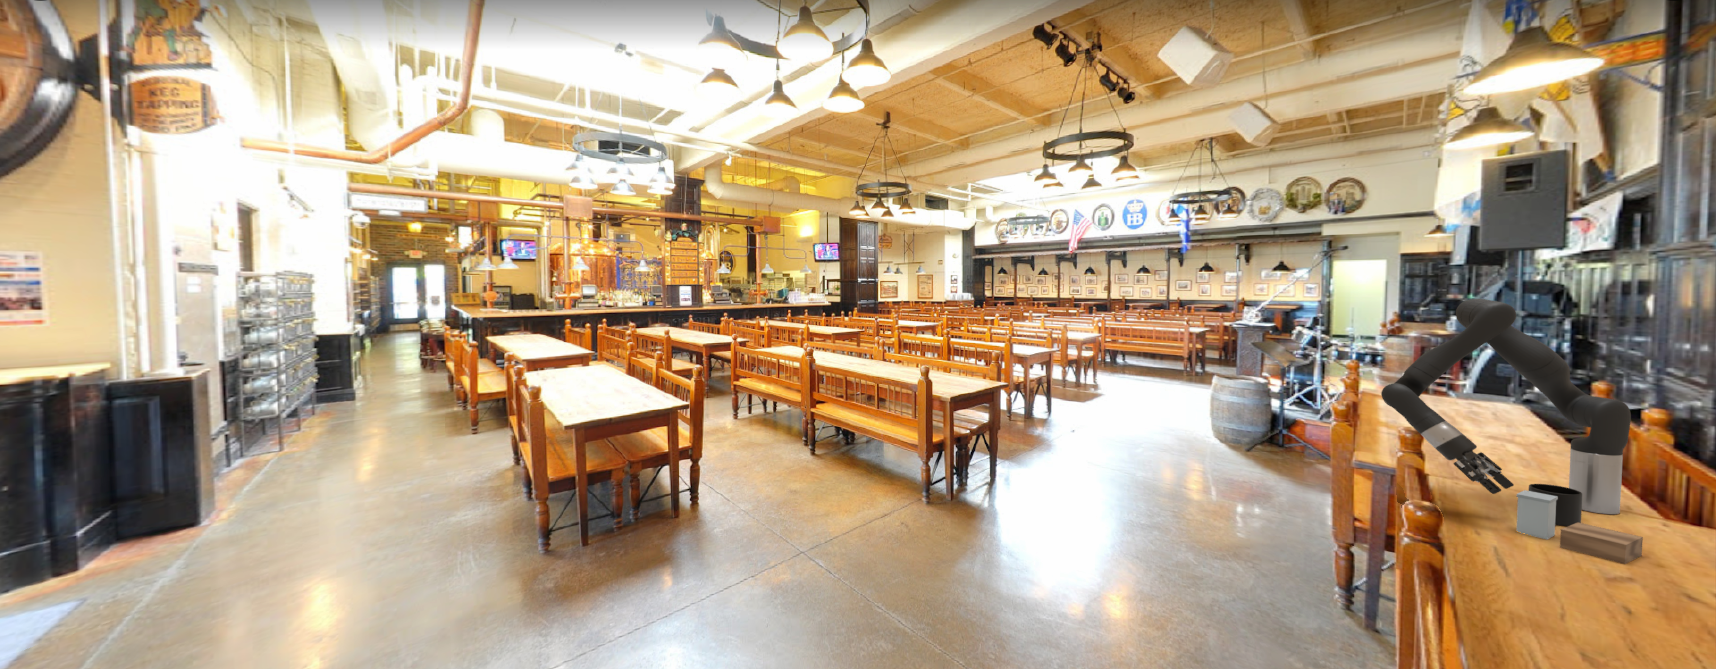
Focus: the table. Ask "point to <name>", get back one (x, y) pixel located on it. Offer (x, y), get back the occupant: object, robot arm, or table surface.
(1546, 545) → the table surface
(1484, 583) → the table surface
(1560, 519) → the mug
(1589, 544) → the walnut block
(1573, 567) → the table surface
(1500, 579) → the table surface
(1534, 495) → the grey lidded pillar
